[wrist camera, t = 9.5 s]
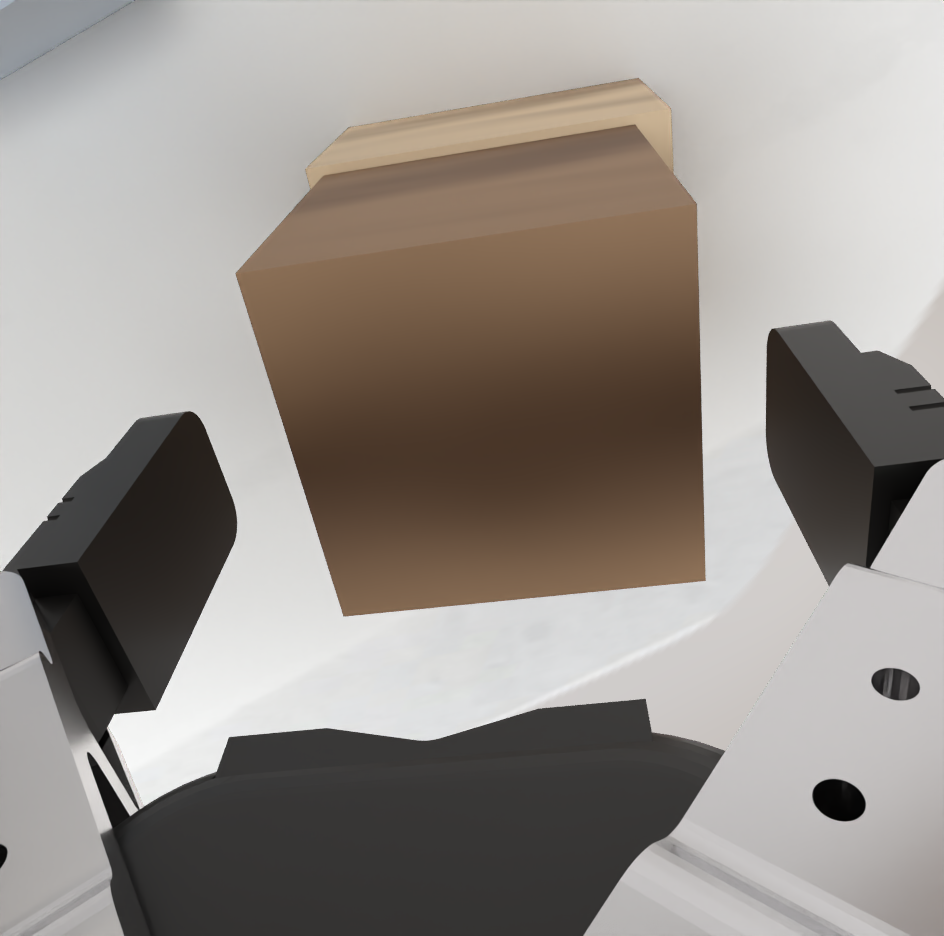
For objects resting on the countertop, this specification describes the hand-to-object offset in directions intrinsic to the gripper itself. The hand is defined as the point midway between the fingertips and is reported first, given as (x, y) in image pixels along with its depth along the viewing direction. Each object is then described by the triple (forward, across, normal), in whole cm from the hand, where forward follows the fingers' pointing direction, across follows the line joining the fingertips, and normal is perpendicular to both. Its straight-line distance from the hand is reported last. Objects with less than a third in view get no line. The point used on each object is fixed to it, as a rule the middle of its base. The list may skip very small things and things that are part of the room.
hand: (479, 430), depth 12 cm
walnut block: (+6, 0, 0) cm, 6 cm away
